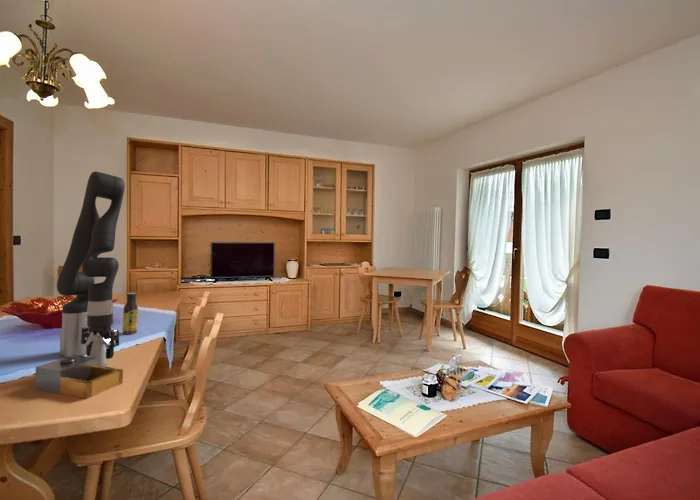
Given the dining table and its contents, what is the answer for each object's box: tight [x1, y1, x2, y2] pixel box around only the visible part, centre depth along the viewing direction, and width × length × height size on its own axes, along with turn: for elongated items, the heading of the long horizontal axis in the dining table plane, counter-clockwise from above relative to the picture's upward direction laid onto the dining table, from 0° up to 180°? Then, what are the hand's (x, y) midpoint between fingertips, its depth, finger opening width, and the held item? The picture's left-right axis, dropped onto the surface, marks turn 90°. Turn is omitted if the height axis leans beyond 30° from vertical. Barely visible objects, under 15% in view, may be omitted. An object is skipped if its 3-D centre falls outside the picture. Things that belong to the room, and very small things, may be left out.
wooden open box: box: [34, 355, 124, 399], centre depth 111 cm, size 24×12×8 cm, turn 76°
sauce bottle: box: [122, 292, 139, 335], centre depth 169 cm, size 6×6×20 cm
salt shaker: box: [89, 335, 109, 367], centre depth 123 cm, size 6×6×13 cm
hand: (99, 357), depth 124 cm, fingers open, 8 cm apart
